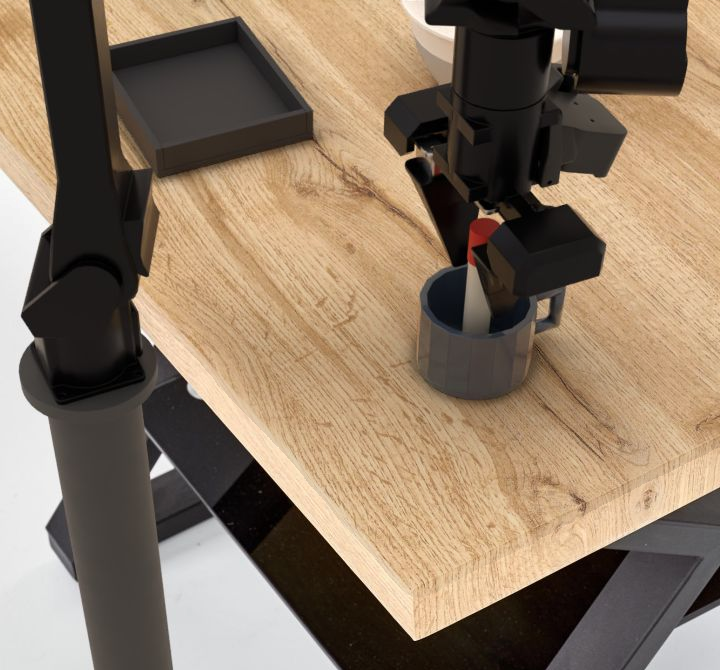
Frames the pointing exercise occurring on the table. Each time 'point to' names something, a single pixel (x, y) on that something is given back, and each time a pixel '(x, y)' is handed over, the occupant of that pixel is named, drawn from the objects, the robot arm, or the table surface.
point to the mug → (477, 339)
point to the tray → (205, 96)
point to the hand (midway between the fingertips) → (479, 289)
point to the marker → (477, 281)
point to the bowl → (446, 42)
